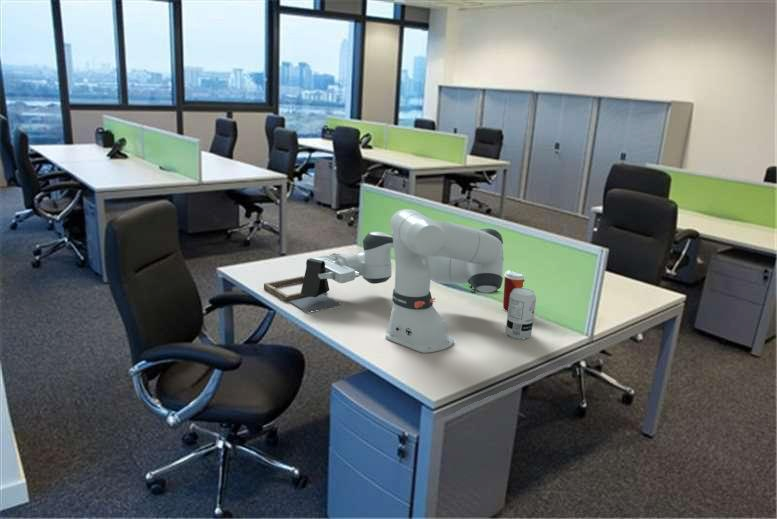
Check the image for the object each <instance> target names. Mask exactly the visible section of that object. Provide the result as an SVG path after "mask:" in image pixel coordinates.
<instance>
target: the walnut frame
mask: <svg viewBox="0 0 777 519" xmlns="http://www.w3.org/2000/svg"><path fill="white" fill-rule="evenodd" d="M304 276H305V275H302V276H296V277H290V278H286V279H281V280H275V281H270V282H264V283H263V289H264V290H265V289H266V290H265V291H267V292H269V293H270V292H271V293H270V294H272V295H274V296H275V295H276V296H275V297H277V296H278V297H277V298H279V300H280V299H281V300H282V301H283V302H285V301H286V303H288V302H287V301H290V300H295V299H300V298H304V297H309V296H307V295H303V294H301V291H300V292H296V293H290V294H286V293H285V292H283V291H282V290H280V289H278V288H279V287H284V285H285V286H289V285H290V286H291V285H295V284H300V283H303V280H304ZM294 283H295V284H294ZM274 287H275V288H274ZM323 294H324V295H326V294H328V292H325V293H323Z"/></svg>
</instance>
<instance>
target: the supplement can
mask: <svg viewBox="0 0 777 519" xmlns="http://www.w3.org/2000/svg"><path fill="white" fill-rule="evenodd" d="M536 300H537V296H536V294H535V291H533V290H531V289H529V288H524V287H523V288H515V289H513V291H512V292H511V293H510V299H509V307H508V311H507V316H506V325H505V333H506V334H507V336H508V335H509V337H510V336H511V337H510V338H512V337H514V338H513V339H515V338H520V339H519V340H524V339H523V338H527V339H529V338H530V337H531V336H532V331H533V324H534V315H535V309H536V303H537V302H536Z"/></svg>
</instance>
